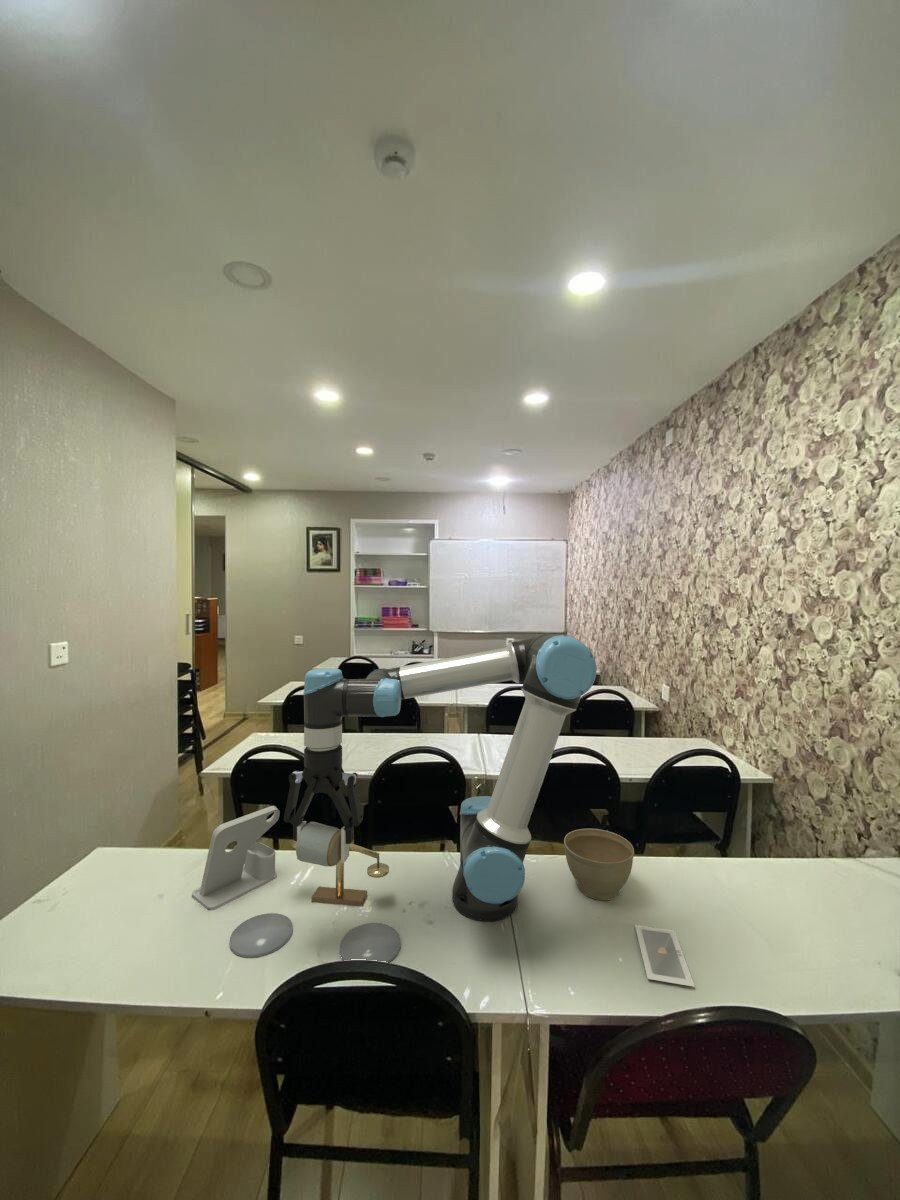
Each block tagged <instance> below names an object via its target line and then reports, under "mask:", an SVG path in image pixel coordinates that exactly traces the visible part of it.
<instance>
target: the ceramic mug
mask: <svg viewBox="0 0 900 1200" xmlns="http://www.w3.org/2000/svg"><path fill="white" fill-rule="evenodd" d="M295 855H296V859H297V858H298V859H299V860H298V861H300V862H302V863H303V862H304V863H308V864H312V865H319V866H321V867H322V866H323V867H334V866H335V867H336V864H337V863H338V862H339V861H340V860H341V828H340V829H339V828H338V827H335V826H331V825H327V824H323V823H319V822H316V821H309V822H308V823H306V825H305V827H304V828H303V829H302V831H301V833H300V835H299V837H298V840H297V846H296V850H295Z"/></svg>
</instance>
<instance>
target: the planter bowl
mask: <svg viewBox="0 0 900 1200" xmlns="http://www.w3.org/2000/svg"><path fill="white" fill-rule="evenodd" d="M563 845H564V850H565V851H564V852H565V858H566V859H565V860H566V864H567V867H568V869H569V871H570V873H571V875H572V876H573V878H574V880H575V881H576V883H577V886H578V889H579V890H580V892H582V893H583V894H585V896H587V897H589V898H592V899H594V900H598V901H610V900H613V899H616V898H617V897H618V896H619V895H620V891H621V889H623V887H624V886H625V885H626V883H627V881H628V880H629V878H630V875H631V872H632V869H633V861H634V857H635V849H634V846H633V844H632V843H631V842H630V841H629V840H627V839H626V838H624V837H623V836H621V835H620V834H617V833H615V832H612V831H608V830H604V829H599V828H580V829H575V830H572V831H570V832H568V833H567V834H566V835H565V837H564V839H563Z"/></svg>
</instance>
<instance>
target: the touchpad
mask: <svg viewBox="0 0 900 1200" xmlns="http://www.w3.org/2000/svg"><path fill="white" fill-rule="evenodd" d="M634 927H635V931H636V935H637V941H638V943H639V948H640V952H641V957H642V960H643V964H644V969H645V972H646V976H647V979H648V980H652V981H653V980H654V981H658V982H663V983H664V982H665V983H670V984H674V985H675V984H676V985H683V986H688V987H693V988H695V983H694V981H693V978H692V975H691V973H690V969H689V967H688V964H687V962H686V959H685V955H684V953H683V951H682V950H683V949H682V948H681V944H680V941H679V938H678V936H677V934H676V931H675V930H673V929H666V928H662V927H661V928H660V927H654V926H646V925H641V924H640V925H639V924H634Z"/></svg>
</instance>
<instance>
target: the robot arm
mask: <svg viewBox="0 0 900 1200" xmlns="http://www.w3.org/2000/svg"><path fill="white" fill-rule="evenodd" d="M597 670H598V669H597V662H596V659H595V657H594V654H593V652H592V651H591V650H590V649H589V647H588V646H587V645H586V644H585V643H583V642H582V641H580V640H579V639H577V638H575V637H574V636H568V635H566V634H559V633H554V632H547V633H543V634H537V635H534V636H532V637H529V638H525V639H520V640H516V641H510V642H508V644H507V645H506V646H505V647H503V648H495V649H491V650H486V651H481V652H479V651H478V652H475V653H469V654H468V653H467V654H464V655H459V656H458V655H457V656H452V657H447V658H441V659H437V660H430V661H425V662H419V663H413V664H409V665H402V666H398V667H391V668H386V667H382V668H378V669H374V670H373V671H371V672H370V673H369V674H368V675H367V676H366V678H357V679H356V678H354V679H353V678H352V679H351V678H344V676H343V672H342V670H341V669H339V668H331V667H330V668H329V667H328V668H327V667H326V668H325V667H324V668H314V669H311V670H308V671H307V672H306V673H305V675H304V685H303V693H302V695H303V715H304V716H303V717H304V718H303V719H304V720H303V724H304V725H303V727H304V728H303V746H305V747H304V749H303V766H304V768H303V771H299V770H297V769H296V770H294V771H293V772H292V773H290V774H289V776H288V782H289V790H288V794H287V800H286V804H285V810H284V815H283V821H284V822H285V823H290V824H291V825H292V839H293V841H297V840H298V837H299V835H300V833H301V831H302V829H303V828H304V827H305V825H306V824H307V821H306V820H304V819H305V815H306V812H307V810H308V808H309V807H310V804H311V802H312V799H313V797H314V795H315V794H319V793H323V794H328V795H329V797H330V799H332V801H333V803H334V807H335V809H336V810H337V813H338V816H339V817H340V819H341V821H342V824H343V826H342V827H341V828H340V830H341V862H343V863H344V864H345V863H346V862H347V860H348V859H349V857H350V849H349V844H351V843H352V842H353V841H354V830H355V827H358V826H359V825H360V824H361V823H362V821H363V819H364V815H363V810H362V805H361V801H360V796H359V795H360V794H359V791H358V787H357V786H358V785H357V782H358V773H357V772H353V773H348V772H345V771H344V769H343V746H342V745H341V744H342V742H343V717H378V718H379V717H380V718H384V717H393V716H394V717H395V716H397V715H399V714H400V711H401V707H402V706H401V705H402V701H403V700H406V699H412V698H419V697H423V696H428V695H435V694H439V693H446V692H452V691H457V690H463V689H468V688H473V687H480V686H485V685H491V684H495V683H496V684H497V683H502V682H509V681H512V682H515V684H521V683H522V686H521V691H522V693H523V695H524V698H525V700H524V703H523V706H522V709H521V712H520V713H519V714H520V715H519V718H518V720H517V723H516V727H515V729H514V731H513V735H512V737H511V740H510V743H509V746H508V749H507V752H506V755H505V757H504V759H503V760H504V761H503V763H502V765H501V766H502V767H500V771H499V774H498V778H497V780H496V783H495V785H494V789H493V791H492V795H491V796H489V795H482V796H481V795H479V796H472V797H471V796H470V797H468V798H466V799H464V800H463V801H462V802H461V804H460V812H459V815H460V826H459V827H460V829H459V830H460V832H459V833H460V837H459V838H460V839H459V840H460V841H459V843H460V845H459V846H460V849H459V855H460V856H459V857H460V858H459V860H460V863H459V867H458V870H457V874H456V877H455V879H454V882H453V886H452V897H451V898H452V899H451V900H452V903H453V907H454V908H455V909H456V910H457V911H458V912H459V913H460V914H462V916H465V917H467V918H470V919H472V920H476V921H481V922H495V921H501V920H504V919H506V918H507V917H509V916H511V915H512V914H513V913H514V912H515V911H516V910H517V907H518V904H519V903H518V899H519V898H518V896H519V893H520V892H521V891H522V888H523V887H524V883H525V878H526V876H525V875H526V872H525V871H526V868H525V866H524V861H525V858H526V855H527V852H528V849H529V846H530V843H531V840H532V834H531V832H530V830H529V827H528V825H529V822H530V820H531V815H532V813H533V811H534V808H535V804H536V802H537V799H538V797H539V794H540V791H541V788H542V785H543V783H544V779H545V776H546V773H547V771H548V769H549V764H550V762H551V759H552V755H553V753H554V751H555V747H556V745H557V742H558V740H559V736H560V734H561V731H562V728H563V726H564V722H565V719H566V716H567V715H570V714H572V713H574V712H576V711H577V708H578V707H579V704H580V701H581V698H582V696H583V695H585V694H586V693H587V692H589V690H591V688H592V686H593V684H594V683H595V680H596V678H597V673H598V672H597ZM303 780H304V781H305V783H306V785H307V788H306V789H305V792H304V795H303V797H302V800H301V802H300V804H299V806H298V808H297V804H298V798H299V793H300V788H301V782H302V781H303ZM342 780H343V781H344V785H345V786H346V793H347V797H348V802H347V801H346V798H345V795H344V794H343V789H342V786H341V784H340V783H341V781H342ZM348 803H349V805H348ZM296 808H297V811H296ZM352 844H353V843H352ZM296 859H297V861H300V860H299V859H298V858H297V857H296Z"/></svg>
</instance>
